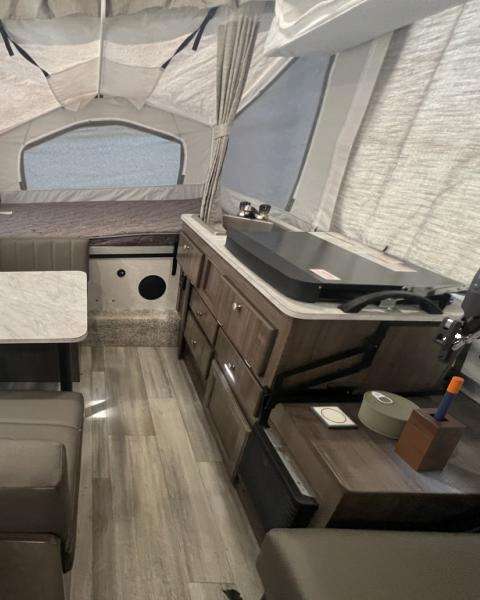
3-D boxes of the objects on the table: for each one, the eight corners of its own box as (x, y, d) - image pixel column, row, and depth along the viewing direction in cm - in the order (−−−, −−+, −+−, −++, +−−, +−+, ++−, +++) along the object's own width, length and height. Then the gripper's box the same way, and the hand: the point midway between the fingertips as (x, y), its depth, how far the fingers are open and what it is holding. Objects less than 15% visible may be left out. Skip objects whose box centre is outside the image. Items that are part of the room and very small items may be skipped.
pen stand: (417, 450, 80) (439, 407, 75) (442, 471, 75) (467, 426, 69) (393, 450, 80) (413, 408, 75) (416, 471, 75) (438, 427, 70)
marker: (435, 429, 74) (461, 377, 68) (438, 433, 73) (466, 381, 67) (426, 427, 75) (451, 375, 69) (429, 431, 73) (455, 379, 68)
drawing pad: (336, 407, 95) (337, 405, 95) (357, 428, 88) (358, 425, 87) (309, 408, 96) (310, 406, 95) (328, 428, 88) (328, 426, 88)
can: (385, 443, 83) (394, 423, 80) (346, 410, 94) (352, 392, 91) (427, 437, 83) (437, 418, 81) (383, 406, 95) (390, 388, 92)
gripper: (483, 300, 57) (448, 373, 63) (566, 296, 56) (522, 371, 62) (440, 286, 64) (412, 353, 70) (514, 282, 63) (479, 350, 69)
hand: (464, 361), depth 66 cm, fingers open, 8 cm apart
